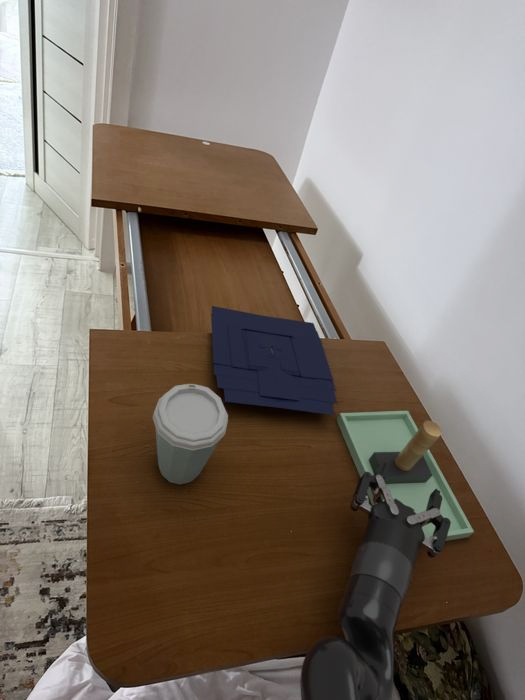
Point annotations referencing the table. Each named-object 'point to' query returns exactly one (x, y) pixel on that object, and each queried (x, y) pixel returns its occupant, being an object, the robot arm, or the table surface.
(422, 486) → the tray
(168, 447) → the disposable coffee cup
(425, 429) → the wooden handled stamp
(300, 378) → the folded navy cloth
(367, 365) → the table surface
